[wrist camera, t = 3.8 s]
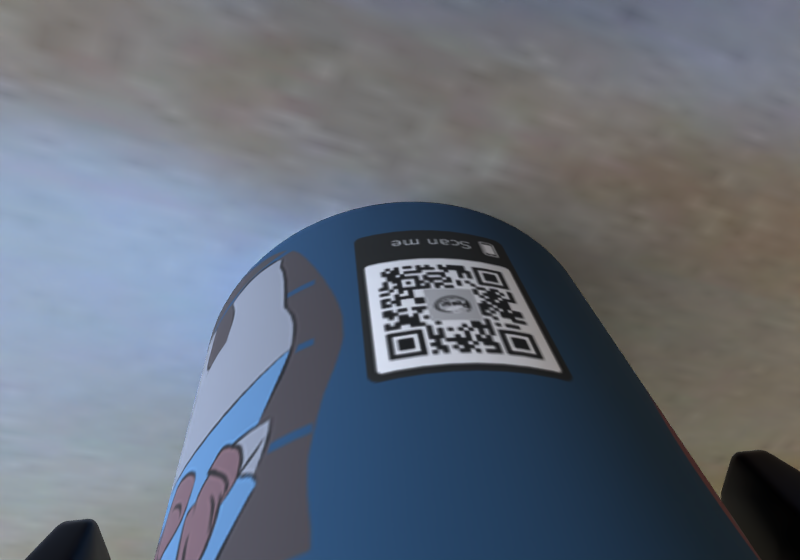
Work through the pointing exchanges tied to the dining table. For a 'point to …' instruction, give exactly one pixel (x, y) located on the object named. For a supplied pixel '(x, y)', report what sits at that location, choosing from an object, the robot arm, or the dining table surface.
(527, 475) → the soda can
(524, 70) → the dining table surface
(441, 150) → the dining table surface
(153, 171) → the dining table surface
